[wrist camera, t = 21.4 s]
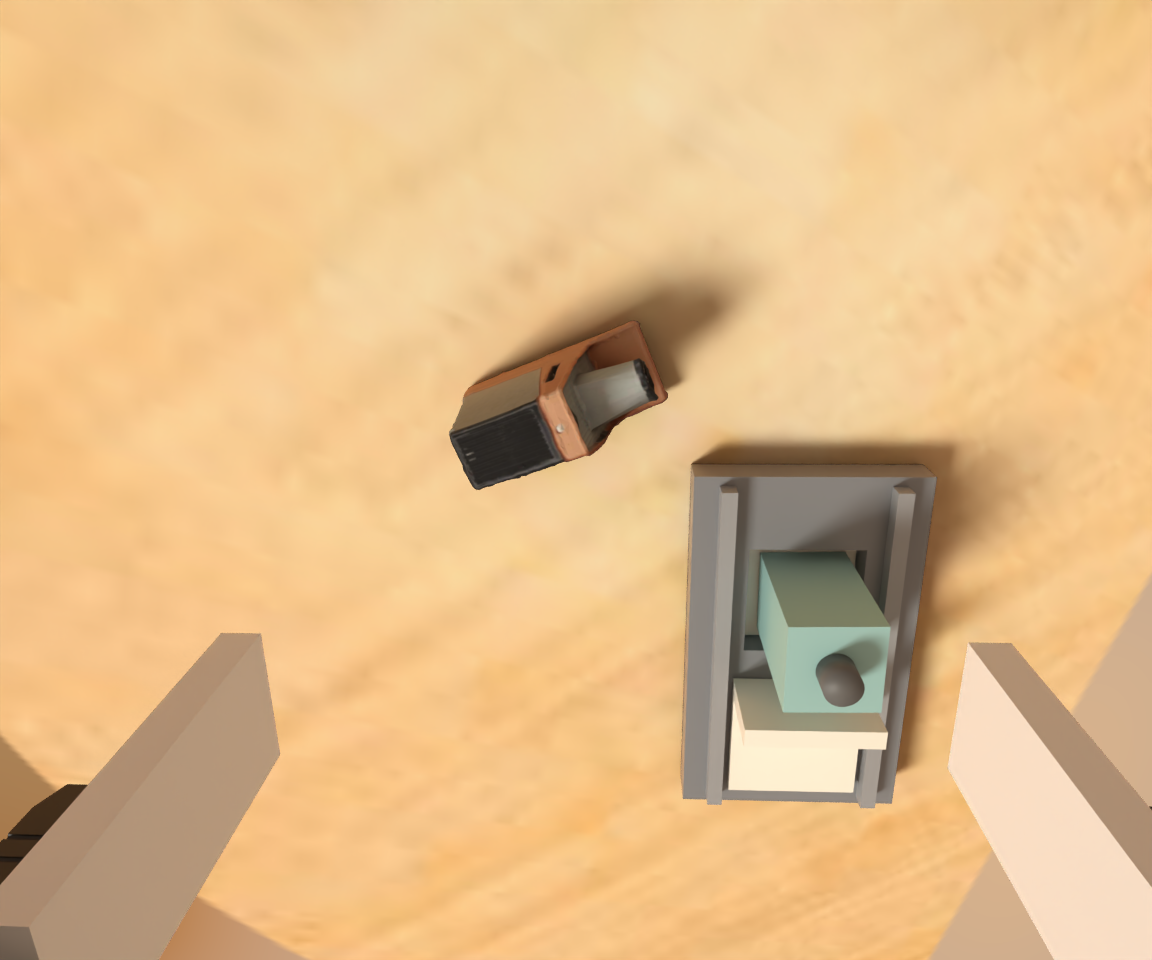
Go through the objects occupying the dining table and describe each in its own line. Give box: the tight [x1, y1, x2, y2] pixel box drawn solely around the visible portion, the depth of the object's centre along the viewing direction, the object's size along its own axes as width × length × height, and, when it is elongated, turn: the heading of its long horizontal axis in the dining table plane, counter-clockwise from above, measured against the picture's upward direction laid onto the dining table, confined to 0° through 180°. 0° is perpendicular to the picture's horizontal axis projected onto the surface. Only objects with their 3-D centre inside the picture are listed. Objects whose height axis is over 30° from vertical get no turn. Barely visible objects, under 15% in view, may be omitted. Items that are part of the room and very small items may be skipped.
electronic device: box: [449, 321, 668, 490], centre depth 40 cm, size 4×10×8 cm, turn 114°
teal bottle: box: [757, 552, 891, 713], centre depth 41 cm, size 4×4×10 cm
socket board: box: [681, 464, 937, 808], centre depth 46 cm, size 20×12×3 cm, turn 1°
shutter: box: [727, 678, 888, 793], centre depth 45 cm, size 7×7×5 cm
